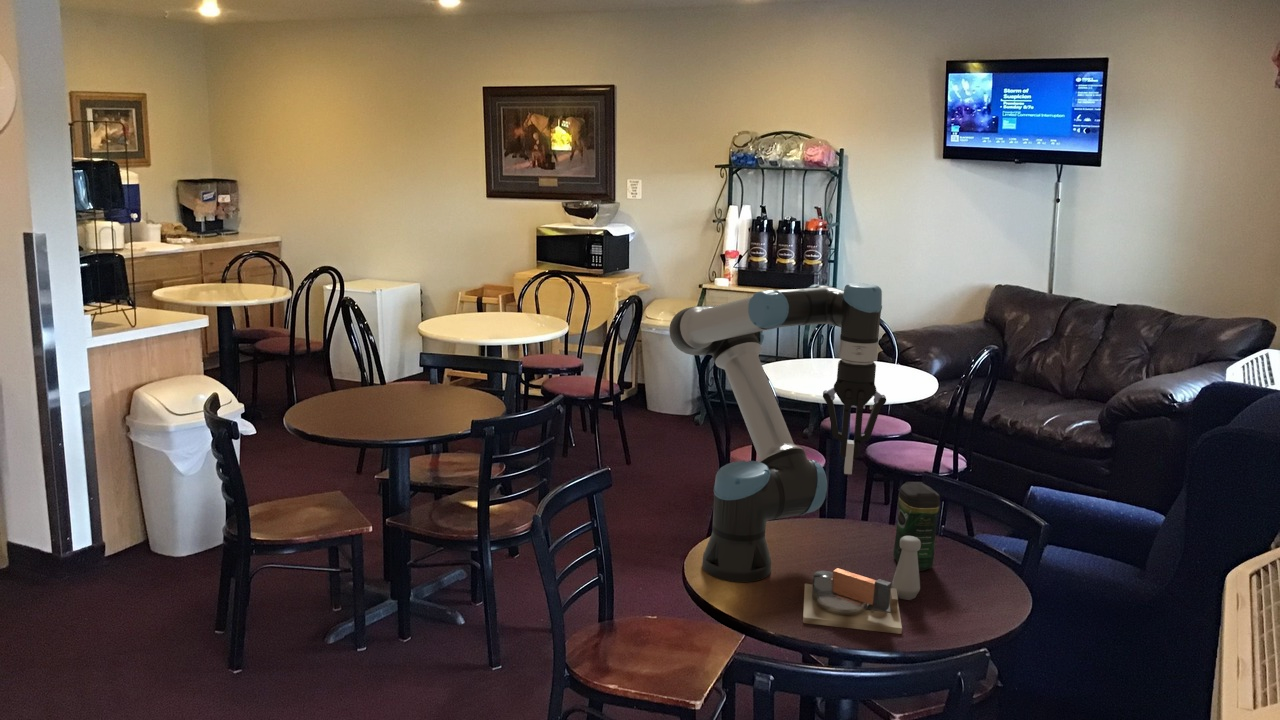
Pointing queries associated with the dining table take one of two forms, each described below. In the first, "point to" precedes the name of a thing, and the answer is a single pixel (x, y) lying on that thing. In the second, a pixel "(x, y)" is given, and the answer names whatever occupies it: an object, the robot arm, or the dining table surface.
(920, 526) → the coffee jar
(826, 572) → the grey round-based piece
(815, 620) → the stand
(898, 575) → the salt shaker
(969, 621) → the dining table surface
